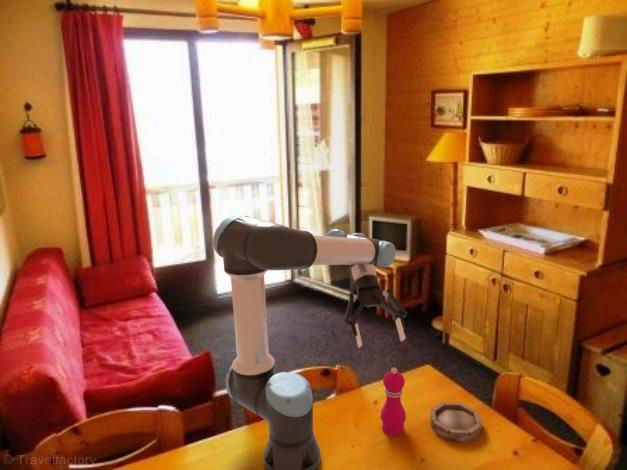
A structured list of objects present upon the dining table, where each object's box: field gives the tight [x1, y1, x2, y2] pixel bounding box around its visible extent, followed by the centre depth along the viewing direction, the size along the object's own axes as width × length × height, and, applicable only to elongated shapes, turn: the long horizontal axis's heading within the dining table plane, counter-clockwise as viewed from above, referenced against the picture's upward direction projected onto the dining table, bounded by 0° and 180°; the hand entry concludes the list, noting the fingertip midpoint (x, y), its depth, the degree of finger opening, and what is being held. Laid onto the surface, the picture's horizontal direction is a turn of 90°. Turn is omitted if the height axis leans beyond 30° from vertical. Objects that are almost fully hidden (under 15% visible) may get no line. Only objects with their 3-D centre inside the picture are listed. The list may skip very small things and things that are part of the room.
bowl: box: [429, 401, 483, 444], centre depth 135 cm, size 14×14×3 cm
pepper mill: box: [380, 367, 407, 437], centre depth 133 cm, size 7×7×20 cm
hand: (382, 343), depth 140 cm, fingers open, 13 cm apart
